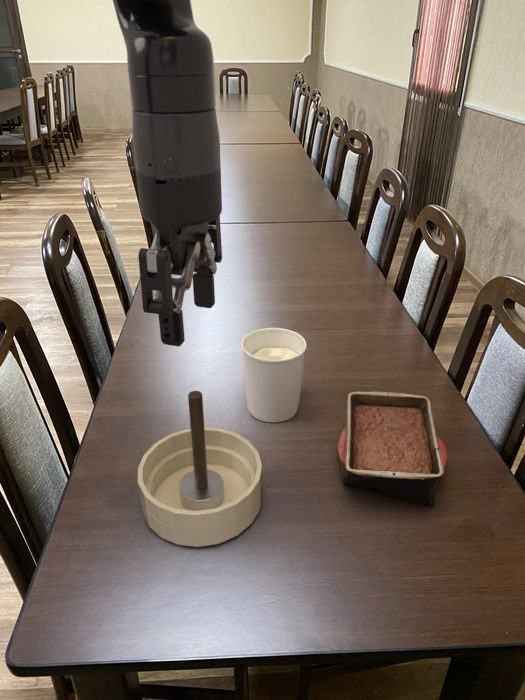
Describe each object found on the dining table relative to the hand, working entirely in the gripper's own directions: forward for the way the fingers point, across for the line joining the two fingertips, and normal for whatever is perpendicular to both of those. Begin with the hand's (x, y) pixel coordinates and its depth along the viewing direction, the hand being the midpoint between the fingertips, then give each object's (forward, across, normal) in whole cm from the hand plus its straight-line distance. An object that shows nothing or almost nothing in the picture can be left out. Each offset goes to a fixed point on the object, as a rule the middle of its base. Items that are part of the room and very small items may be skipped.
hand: (189, 323), depth 56 cm
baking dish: (+26, -13, +23) cm, 37 cm away
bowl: (+26, 0, 0) cm, 26 cm away
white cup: (+26, -22, +4) cm, 34 cm away
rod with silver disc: (+26, 0, 0) cm, 26 cm away
